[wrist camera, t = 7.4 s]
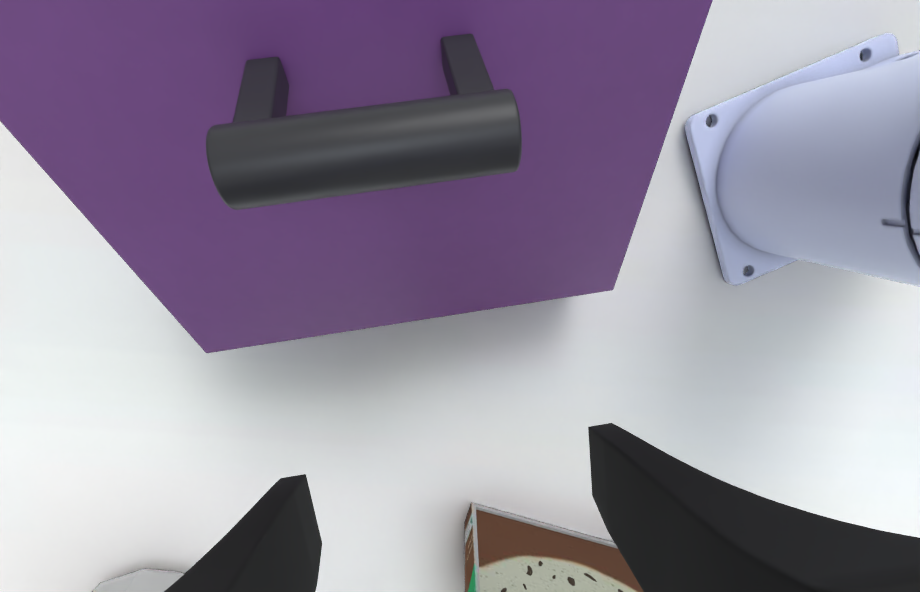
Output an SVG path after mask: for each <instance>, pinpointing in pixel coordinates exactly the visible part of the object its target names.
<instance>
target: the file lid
mask: <svg viewBox="0 0 920 592" xmlns="http://www.w3.org/2000/svg"><path fill="white" fill-rule="evenodd" d="M711 3H712V0H0V121H1V122H2V123H3V125H4V126H5V127H6V128H7V129H8V130H9V131H10V132H11V134H12V135H13V136H14V137H15V138H16V139H17V140H18V142H19V143H20V144H21V145H22V146H23V147H24V148H25V149H26V151H27V152H28V153H29V154H30V155H31V156H32V157H33V158H34V160H35V161H36V162H37V163H38V164H39V165H40V166H41V167H42V169H43V170H44V171H45V172H46V173H47V174H48V175H49V176H50V178H51V179H52V180H53V181H54V182H55V183H56V184H57V185H58V187H59V188H60V189H61V190H62V191H63V192H64V193H65V194H66V196H67V197H68V198H69V199H70V200H71V201H72V202H73V204H74V205H75V206H76V207H77V208H78V209H79V210H80V211H81V213H82V214H83V215H84V216H85V217H86V218H87V219H88V220H89V222H90V223H91V224H92V225H93V226H94V227H95V228H96V229H97V231H98V232H99V233H100V234H101V235H102V236H103V237H104V238H105V240H106V241H107V242H108V243H109V244H110V245H111V246H112V247H113V249H114V250H115V251H116V252H117V253H118V254H119V255H120V257H121V258H122V259H123V260H124V261H125V262H126V263H127V264H128V266H129V267H130V268H131V269H132V270H133V271H134V272H135V273H136V275H137V276H138V277H139V278H140V279H141V280H142V281H143V282H144V284H145V285H146V286H147V287H148V288H149V289H150V290H151V291H152V293H153V294H154V295H155V296H156V297H157V298H158V299H159V300H160V302H161V303H162V304H163V305H164V306H165V307H166V308H167V309H168V311H169V312H170V313H171V314H172V315H173V316H174V317H175V319H176V320H177V321H178V322H179V323H180V324H181V325H182V326H183V328H184V329H185V330H186V331H187V332H188V333H189V334H190V335H191V337H192V338H193V339H194V340H195V341H196V342H197V343H198V344H199V346H200V347H201V348H202V349H203V350H204V351H205V352H206V353H211V352H218V351H224V350H231V349H237V348H243V347H250V346H256V345H263V344H269V343H276V342H282V341H288V340H295V339H301V338H308V337H314V336H321V335H327V334H333V333H340V332H346V331H353V330H359V329H366V328H372V327H378V326H385V325H391V324H398V323H404V322H411V321H417V320H423V319H430V318H436V317H443V316H449V315H456V314H462V313H468V312H475V311H481V310H488V309H494V308H501V307H507V306H513V305H520V304H526V303H533V302H539V301H546V300H552V299H558V298H565V297H571V296H578V295H584V294H590V293H597V292H603V291H610V290H613V289H614V286H615V283H616V280H617V277H618V274H619V271H620V268H621V265H622V262H623V260H624V257H625V254H626V251H627V248H628V245H629V242H630V239H631V236H632V233H633V230H634V227H635V225H636V222H637V219H638V216H639V213H640V210H641V207H642V204H643V201H644V198H645V195H646V193H647V190H648V187H649V184H650V181H651V178H652V175H653V172H654V169H655V166H656V163H657V160H658V158H659V155H660V152H661V149H662V146H663V143H664V140H665V137H666V134H667V131H668V128H669V125H670V123H671V120H672V117H673V114H674V111H675V108H676V105H677V102H678V99H679V96H680V93H681V91H682V88H683V85H684V82H685V79H686V76H687V73H688V70H689V67H690V64H691V61H692V58H693V56H694V53H695V50H696V47H697V44H698V41H699V38H700V35H701V32H702V29H703V26H704V24H705V21H706V18H707V15H708V12H709V9H710V6H711Z"/></svg>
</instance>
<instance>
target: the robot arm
mask: <svg viewBox="0 0 920 592" xmlns="http://www.w3.org/2000/svg"><path fill="white" fill-rule="evenodd" d="M861 52H862V54H863V58H862V60H860V53H861ZM708 116H710V117H711V119H712V124H711V126H710V127H708V126H707V125H706V119H707V117H708ZM685 132H686V136H687V139H688V143H689V147H690V151H691V155H692V159H693V162H694V166H695V170H696V174H697V178H698V182H699V185H700V189H701V193H702V197H703V201H704V204H705V208H706V212H707V216H708V220H709V224H710V227H711V231H712V235H713V239H714V243H715V247H716V250H717V254H718V258H719V262H720V266H721V270H722V273H723V277H724V280H725V281H726V282H727V283H729V284H731V285H736V286H737V285H741V284H743V283H745V282H748V281H750V280H752V279H755V278H757V277H759V276H762V275H764V274H766V273H769V272H771V271H773V270H776V269H778V268H780V267H783V266H785V265H787V264H790V263H792V262H794V261H797V260H803V261H807V262H812V263H816V264H821V265H825V266H829V267H834V268H838V269H843V270H847V271H852V272H856V273H861V274H865V275H869V276H874V277H878V278H883V279H887V280H892V281H896V282H901V283H905V284H909V285H914V286H918V287H920V50H919V51H915V52H910V53H906V54H902V55H899V50H898V42H897V39H896V37H895V36H894V35H893V34H891V33H886V34H882V35H879V36H876V37H874V38H871V39H869V40H867V41H864V42H862V43H860V44H857V45H855V46H853V47H850V48H848V49H846V50H843V51H841V52H839V53H836V54H834V55H832V56H829V57H827V58H825V59H822V60H820V61H818V62H815V63H813V64H811V65H808V66H806V67H804V68H801V69H799V70H797V71H794V72H792V73H790V74H787V75H785V76H783V77H780V78H778V79H776V80H773V81H771V82H769V83H766V84H764V85H762V86H759V87H757V88H755V89H752V90H750V91H748V92H745V93H743V94H741V95H738V96H736V97H734V98H731V99H729V100H727V101H724V102H722V103H720V104H717V105H715V106H713V107H710V108H708V109H706V110H703V111H701V112H699V113H696V114H694V115H692V116H691V117H689V119H688V120H687V121H686V125H685ZM746 266H748V271H747V273H745V274H743V270H744V268H745V267H746ZM588 428H589V445H590V461H591V478H592V495H593V498H594V500H595V502H596V505H597V507H598V509H599V512H600V514H601V516H602V519H603V521H604V523H605V525H606V528H607V530H608V532H609V534H610V535H611V537H612V539H613V541H614V542H615V544H616V546H617V547H618V549H619V551H620V553H621V554H622V556H623V558H624V559H625V561H626V563H627V564H628V566H629V568H630V569H631V571H632V573H633V574H634V576H635V578H636V579H637V581H638V583H639V584H640V586H641V588H642V590H643V591H644V592H920V538H917V537H912V536H906V535H901V534H895V533H890V532H885V531H880V530H875V529H871V528H867V527H863V526H859V525H855V524H850V523H846V522H842V521H838V520H834V519H831V518H827V517H823V516H820V515H816V514H813V513H809V512H806V511H803V510H800V509H797V508H794V507H790V506H787V505H784V504H781V503H778V502H775V501H772V500H769V499H766V498H764V497H761V496H758V495H756V494H753V493H751V492H748V491H746V490H743V489H740V488H738V487H735V486H733V485H730V484H728V483H726V482H723V481H721V480H719V479H717V478H715V477H712V476H710V475H708V474H706V473H704V472H702V471H700V470H698V469H696V468H693V467H691V466H690V465H688V464H686V463H684V462H682V461H680V460H678V459H676V458H674V457H672V456H670V455H668V454H667V453H665V452H663V451H661V450H659V449H657V448H656V447H654V446H652V445H650V444H649V443H647V442H645V441H643V440H642V439H640V438H638V437H636V436H634V435H633V434H631V433H629V432H627V431H626V430H624V429H622V428H620V427H618V426H616V425H614V424H612V423H609V424H603V425H597V426H591V427H588ZM321 547H322V541H321V537H320V533H319V529H318V524H317V520H316V516H315V512H314V507H313V503H312V499H311V495H310V491H309V486H308V482H307V478H306V474H304V475H298V476H292V477H286V478H281V479H280V480H279V481H278V482H276V483H275V484H274V485H273V486H272V487H271V488H270V490H269V491H268V492H267V493H266V494H265V495H264V496H263V497H262V498H261V499H260V500H259V501H258V502H257V503H256V504H255V505H254V506H253V507H252V508H251V510H250V511H249V512H248V513H247V514H246V515H245V516H244V517H243V518H242V519H241V520H240V521H239V522H238V523H237V524H236V525H235V526H234V527H233V528H232V529H231V530H230V531H229V532H228V533H227V534H226V535H225V536H224V537H223V538H222V539H221V540H220V541H219V542H218V543H217V544H216V545H215V546H214V547H213V548H212V549H211V550H210V551H209V552H207V553H206V554H205V555H204V556H203V557H202V558H201V559H200V560H199V561H198V562H197V563H196V564H195V565H194V566H193V567H192V568H191V569H190V570H188V571H187V572H186V573H185V574H184V575H183V576H182V577H180V578H179V579H178V580H177V581H176V582H175V583H174V584H172V585H171V586H170V587H169V588H168V589H166V590H165V591H164V592H315V590H316V586H317V580H318V572H319V565H320V556H321Z"/></svg>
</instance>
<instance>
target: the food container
mask: <svg viewBox="0 0 920 592" xmlns="http://www.w3.org/2000/svg"><path fill="white" fill-rule="evenodd" d="M464 561H465V592H644V591H643V590H642V588H641V586H640V584H639V583H638V581H637V579H636V578H635V576H634V574H633V573H632V571H631V569H630V568H629V566H628V564H627V563H626V561H625V559H624V558H623V556H622V554H621V553H620V551H619V549H618V547H617V546H616V544H615V543H614V542H611V541H607V540H603V539H600V538H596V537H593V536H589V535H586V534H582V533H578V532H575V531H571V530H568V529H564V528H561V527H557V526H553V525H550V524H546V523H543V522H539V521H536V520H532V519H528V518H525V517H521V516H518V515H514V514H510V513H507V512H503V511H500V510H496V509H493V508H489V507H485V506H482V505H478V504H475V503H471V505H470V508H469V511H468V514H467V517H466V520H465V534H464Z"/></svg>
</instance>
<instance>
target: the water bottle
mask: <svg viewBox="0 0 920 592" xmlns="http://www.w3.org/2000/svg"><path fill="white" fill-rule="evenodd" d="M183 575H184V574H183V573H182V572H174V571H164V570H155V569H146V568H145V569H142V570H139V571H135V572H132V573H129V574H126V575H123V576H120V577H117V578H114V579H110V580H107V581H104V582H101V583H100V584H99V585H98V586H97V587H96V588H95V589H94V590H93V591H92V592H164V591H165V590H166V589H168V588H169V587H170V586H171V585H172V584H174V583H175V582H176V581H177V580H178V579H179V578H180V577H182V576H183Z"/></svg>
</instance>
